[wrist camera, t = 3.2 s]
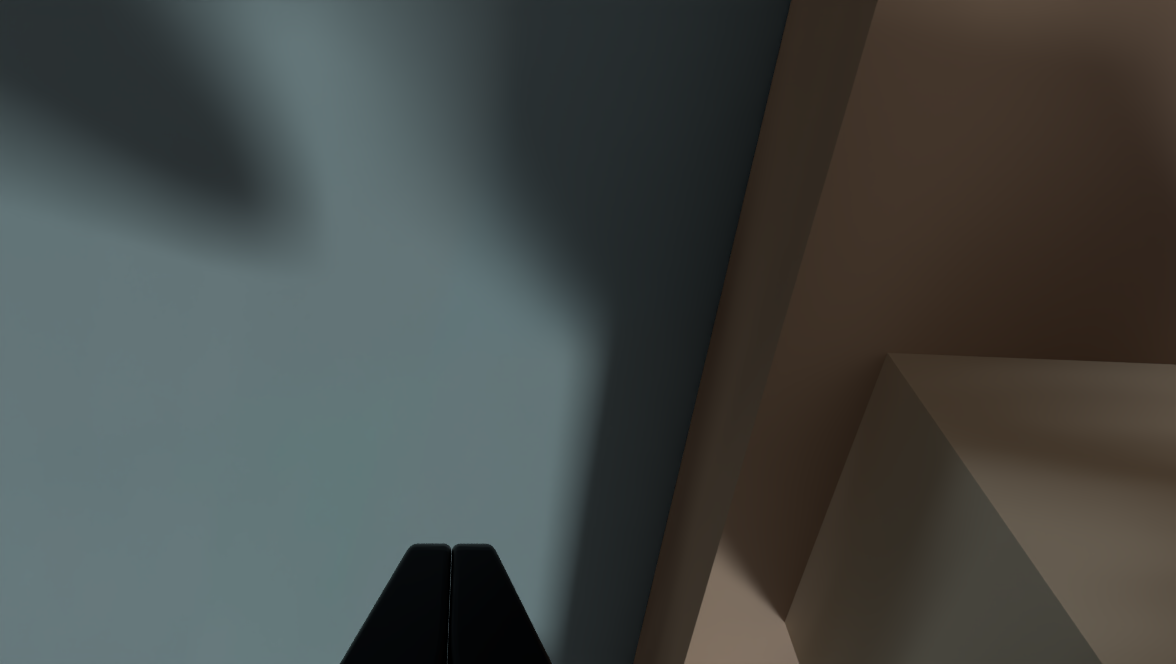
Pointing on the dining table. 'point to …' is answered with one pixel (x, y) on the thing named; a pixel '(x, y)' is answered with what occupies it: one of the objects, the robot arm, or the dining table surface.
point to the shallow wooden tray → (911, 262)
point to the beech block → (1000, 519)
